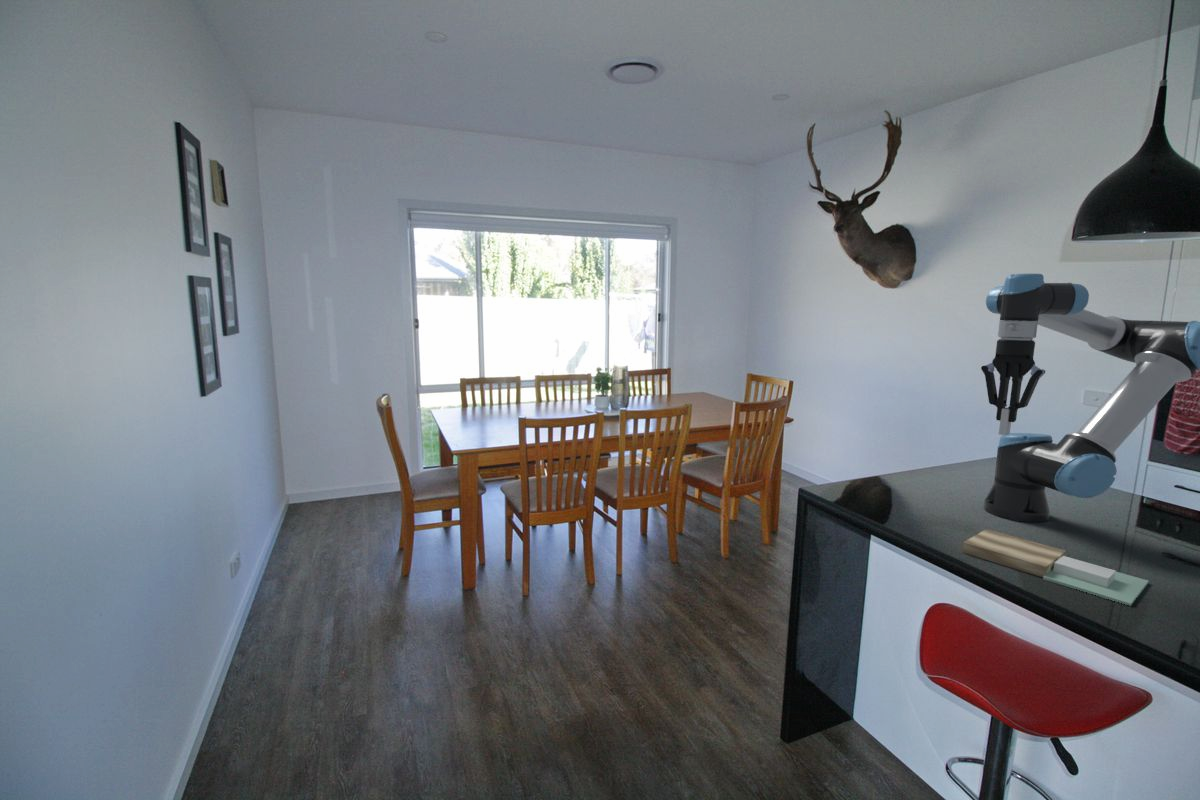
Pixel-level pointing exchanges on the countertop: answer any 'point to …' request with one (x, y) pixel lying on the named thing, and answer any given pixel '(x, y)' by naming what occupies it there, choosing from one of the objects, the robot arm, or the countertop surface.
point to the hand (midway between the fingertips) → (1004, 434)
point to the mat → (1118, 591)
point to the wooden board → (1013, 552)
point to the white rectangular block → (1085, 571)
